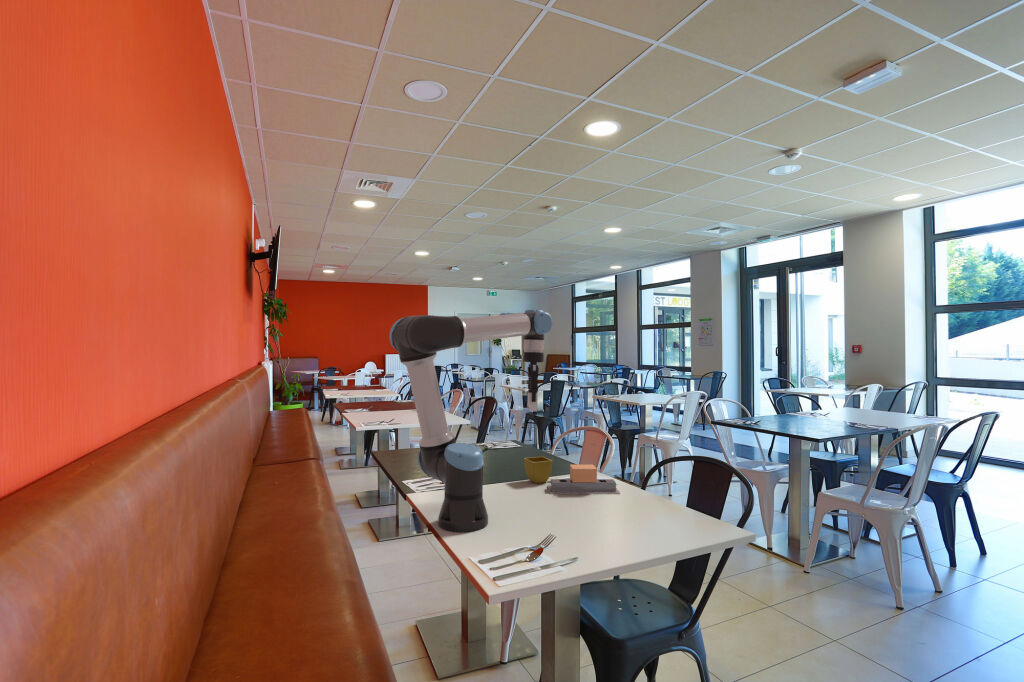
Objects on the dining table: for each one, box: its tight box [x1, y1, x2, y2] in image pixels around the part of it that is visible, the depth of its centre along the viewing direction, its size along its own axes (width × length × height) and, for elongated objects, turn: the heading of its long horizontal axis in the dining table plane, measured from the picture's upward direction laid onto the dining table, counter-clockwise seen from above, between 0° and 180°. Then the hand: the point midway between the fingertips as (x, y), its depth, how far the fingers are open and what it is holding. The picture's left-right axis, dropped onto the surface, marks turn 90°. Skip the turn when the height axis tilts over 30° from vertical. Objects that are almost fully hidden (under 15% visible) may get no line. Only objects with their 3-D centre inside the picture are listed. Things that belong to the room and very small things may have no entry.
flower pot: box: [523, 456, 553, 484], centre depth 207 cm, size 9×9×9 cm
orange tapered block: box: [569, 464, 598, 482], centre depth 196 cm, size 9×7×8 cm
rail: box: [546, 478, 621, 495], centre depth 196 cm, size 10×26×3 cm, turn 92°
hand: (531, 409), depth 192 cm, fingers open, 13 cm apart
